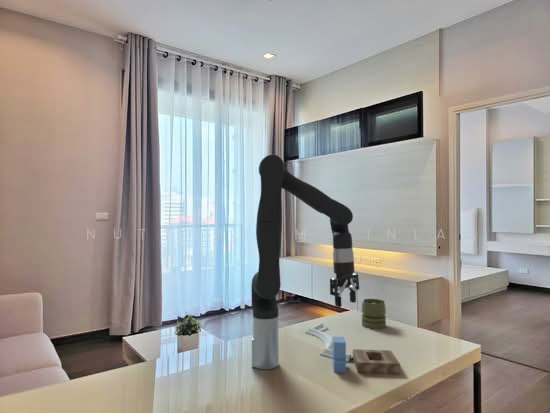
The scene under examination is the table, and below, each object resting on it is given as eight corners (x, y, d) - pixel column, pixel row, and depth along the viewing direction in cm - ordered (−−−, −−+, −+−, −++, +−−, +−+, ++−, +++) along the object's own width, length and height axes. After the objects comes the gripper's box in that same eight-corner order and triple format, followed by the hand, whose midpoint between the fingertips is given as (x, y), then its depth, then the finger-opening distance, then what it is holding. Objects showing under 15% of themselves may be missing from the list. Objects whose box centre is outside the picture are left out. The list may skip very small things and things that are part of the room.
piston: (360, 302, 167) (363, 297, 177) (360, 327, 166) (363, 321, 177) (384, 304, 163) (386, 299, 173) (385, 330, 162) (386, 324, 173)
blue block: (334, 374, 116) (334, 343, 117) (332, 363, 125) (332, 335, 126) (346, 374, 116) (346, 344, 116) (343, 363, 125) (343, 335, 125)
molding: (358, 363, 126) (358, 355, 126) (325, 365, 125) (326, 356, 125) (325, 327, 168) (325, 321, 168) (301, 328, 167) (301, 322, 167)
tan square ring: (357, 372, 117) (357, 362, 117) (352, 358, 129) (352, 349, 129) (400, 374, 116) (400, 363, 116) (391, 360, 128) (391, 350, 128)
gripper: (347, 257, 136) (349, 299, 135) (323, 261, 126) (325, 306, 126) (363, 258, 130) (365, 302, 129) (339, 263, 121) (341, 310, 120)
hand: (345, 304), depth 127 cm, fingers open, 8 cm apart
